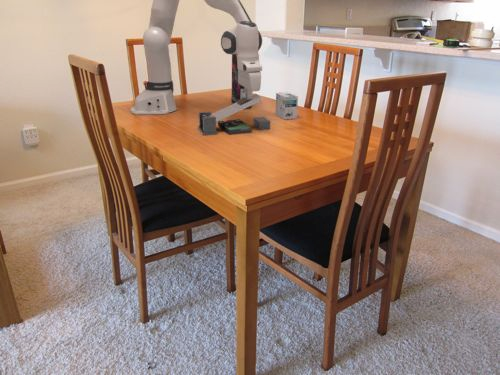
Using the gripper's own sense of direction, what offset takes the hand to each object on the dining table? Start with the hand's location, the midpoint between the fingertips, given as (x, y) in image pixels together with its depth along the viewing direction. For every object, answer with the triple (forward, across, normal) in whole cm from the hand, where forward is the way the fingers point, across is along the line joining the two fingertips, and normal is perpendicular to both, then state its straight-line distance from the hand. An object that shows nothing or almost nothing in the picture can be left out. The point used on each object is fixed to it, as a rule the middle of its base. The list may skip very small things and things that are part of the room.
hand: (248, 98), depth 175 cm
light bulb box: (+13, -14, +23) cm, 30 cm away
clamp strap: (+5, 0, -7) cm, 9 cm away
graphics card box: (+13, -42, +9) cm, 45 cm away
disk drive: (+13, -1, -6) cm, 15 cm away
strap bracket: (+13, 0, -6) cm, 14 cm away
